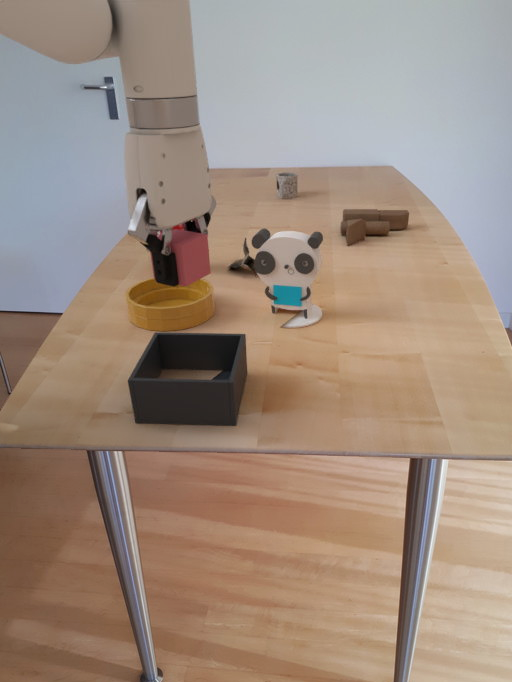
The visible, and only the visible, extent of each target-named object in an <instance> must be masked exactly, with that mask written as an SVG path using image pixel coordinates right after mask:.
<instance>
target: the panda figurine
mask: <svg viewBox="0 0 512 682" xmlns="http://www.w3.org/2000/svg"><path fill="white" fill-rule="evenodd" d="M323 241H324V235H323V233H322V232H320V231H314V232H313V233H311V234H310V235H309V234H307V233H305V232H300V231H296V230H282V231H277V232H275V233H273V234H272V235H271V232H270V230H268V229H267V228H261V229H260V230H259V231H258V232H257V233H256V234H254V235H253V236H252V238H251V243H250V244H251V246H252V247H253V248H254V249H256V250H258V251H257V253H256V255H255V257H254V259H255V261H254V267H255V271H256V272H257V276H258V278H259V279H260V280H261V282H263V283H264V284H265V285H266V287H265V288H264V294H265V296H266V297H267V298H268V299H270V306H271V307H270V308H271V314H276V313H277V312H278V310H279V309H282V310H288V311H299V312H298V313H296V314H295V315H293V316H292V317H290V319H288V320H287V321H286V322H284V323H283V324H282V325H281V326H279V328H281V329H299V328H306V327H309V326H312V325H315V324H316V323H318V322H319V321H320V320H321V319H322V317H323V310H322V309H321V308H320V307H319V306H318V305H316V304H314V303H313V302H312V284H313V282H314V281H315V279H316V278H317V276H318V275H319V273H320V271H321V268H322V264H323V263H322V262H323V257H322V253H321V248H320V246H321V244H322V243H323Z"/></svg>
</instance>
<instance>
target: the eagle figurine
mask: <svg viewBox="0 0 512 682" xmlns="http://www.w3.org/2000/svg"><path fill="white" fill-rule="evenodd" d="M242 251H243V255H244V257H243V258H242V259H241V258H240V259H236V260H234V261H233V262H232V263H231V264H230V265H229V266H228V267H227V269H230V268H234V269H238V268H239V267H241V268H242V267H243V266H246V267H248V268H249V269H251V270H252V271H253V273H254V277H257V276H258V274H257V272H256V271H255V267H254V261H255V258H253V257H252V256H250V250H249V247H248V244H247V237H246V236H245V237H244V242H243V245H242Z"/></svg>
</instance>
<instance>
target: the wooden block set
mask: <svg viewBox="0 0 512 682" xmlns="http://www.w3.org/2000/svg"><path fill="white" fill-rule="evenodd" d="M409 219H410V212H409V211H408V210H407V209H377V208H353V209H352V208H351V209H350V208H345V209H343V210H342V221H340V234H341V235H345V241H346V246H347V247H349V246H352V245H355V244H357V243H359V241H360V242H362V241H364V239H365V240H366V235H389V234H390V230H403V229H406V228H407V227H408V226H409ZM356 242H357V243H356ZM351 244H352V245H351ZM348 245H349V246H348Z"/></svg>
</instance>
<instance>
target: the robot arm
mask: <svg viewBox="0 0 512 682" xmlns="http://www.w3.org/2000/svg"><path fill="white" fill-rule="evenodd" d="M192 26H193V25H192V12H191V1H190V0H0V35H1V36H4V37H5V38H8V39H10V40H12V41H14V42H15V43H18V44H20V45H22V46H23V47H26V48H28V49H30V50H32V51H34V52H35V53H36V52H37V53H39V54H40V55H43V56H45V57H47V58H49V59H51V60H53V61H57V62H59V63H62V64H65V65H82V64H86V63H91V62H94V61H100V60H105V59H111V58H119V65H120V71H121V77H122V78H121V79H122V86H123V92H124V97H125V98H124V99H125V105H126V112H127V118H128V125H129V131H128V132H125V135H124V151H123V153H124V154H123V155H124V156H123V157H124V179H125V192H126V200H127V208H128V214H129V218H130V221H129V225H128V228H127V234H128V235H129V236H130V237H131V238H133V239H134V240H136V241H137V242H139V243H140V244H141V245H142V246H144V248H145V249H146V252H148V253H150V252H151V253H152V260H153V267H154V274H155V280H156V282H157V283H160V284H164V285H169V286H173V287H175V286H177V285H178V284H179V281H178V273H177V264H176V256H175V253H171V245H172V230H173V227H174V226H177V225H180V224H182V225H183V228H184V231H190V232H196V233H202V234H207V236H209V230H208V227H209V224H210V222H211V219H212V217H211V216H212V215H213V213H214V211H215V210H216V207H217V200H216V199H215V197H214V196H213V194H212V193H213V192H212V180H211V172H210V165H209V159H208V153H207V148H206V142H205V138H204V134H203V130H202V126H201V120H200V119H201V118H200V109H199V97H198V96H199V95H198V87H197V71H196V61H195V49H194V48H195V47H194V38H193V36H194V35H193V27H192ZM157 231H162V238H161V240H160V239H159V238H158V237H157Z"/></svg>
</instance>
